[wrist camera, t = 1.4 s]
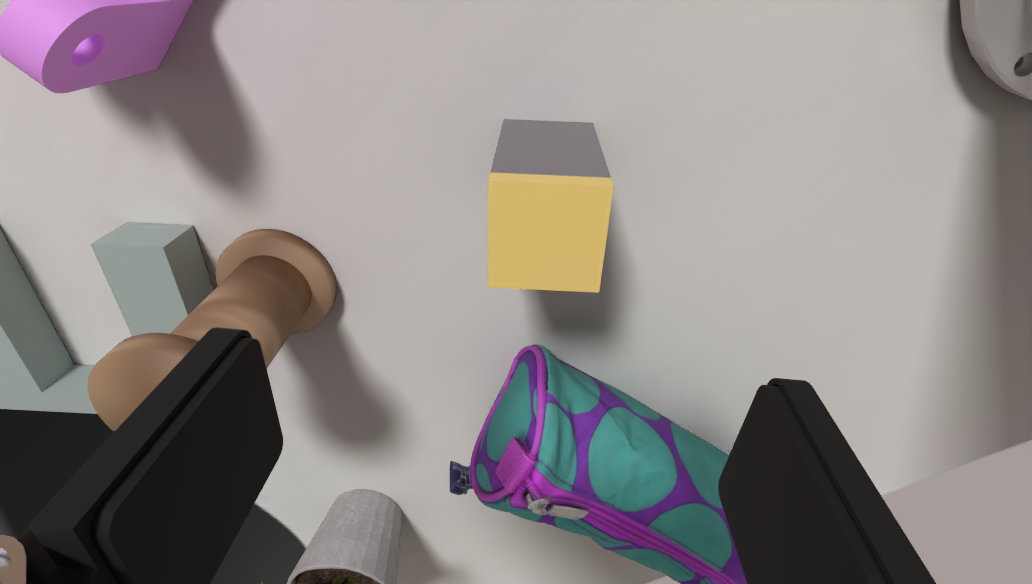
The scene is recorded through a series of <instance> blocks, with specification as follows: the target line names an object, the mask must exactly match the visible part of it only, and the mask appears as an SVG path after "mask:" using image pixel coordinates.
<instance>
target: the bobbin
mask: <svg viewBox="0 0 1032 584" xmlns="http://www.w3.org/2000/svg"><path fill="white" fill-rule="evenodd" d="M216 281H217V285H218V287H217V288H216V289H215V290H214V291H213V292H212V293H211V294H209V295H208V296H207V297H206V298H205V299H204V300H203V301H202V302H201V303H200V304H199V305H198V306H197V307H196V308H195V309H194V310H193V311H192V312H191V313H190V314H189V315H188V316H187V317H186V318H185V319H184V320H183V321H182V322H181V323H180V324H179V325H178V326H177V327H176V328H175V329H174V330H173V331H172V332H171V333H170V334H168V333H146V334H139V335H136V336H132V337H130V338H127V339H125V340H123V341H122V342H120V343H119V344H118V345H117V346H115V347H114V348H113V349H112V350H111V351H110V352H109V353H108V354H106V355H105V356H104V357H103V358H102V359H101V360H100V361H99V362H98V363H97V364H96V365H95V366H94V367H93V368H92V370H91V372H90V374H89V377H88V384H87V387H88V394H89V398H90V401H91V403H92V405H93V407H94V409H95V410H96V412H97V414H98V415H99V416H100V418H101V419H102V420H103V421H104V422H105V423H106V424H107V425H108V426H109V428H110V429H112V430H113V431H114V432H115V431H116V430H117V428H118V427H119V426H120V425H121V424H122V423H123V422H124V421H125V420H126V419H127V418H128V417H129V416H130V414H131V413H132V412H133V411H134V410H135V409H136V408H137V407H138V406H139V405H140V404H141V403H142V402H143V401H144V399H145V398H146V397H147V396H148V395H149V394H150V393H151V392H152V391H153V390H154V389H155V388H156V387H157V385H158V384H159V383H160V382H161V381H162V380H163V379H164V378H165V377H166V376H167V375H168V374H169V373H170V372H171V370H172V369H173V368H174V367H175V366H176V365H177V364H178V363H179V362H180V361H181V360H182V359H183V358H184V356H185V355H186V354H187V353H188V352H189V351H190V350H191V349H192V348H193V347H194V346H195V345H196V344H197V343H198V341H199V340H200V339H201V338H202V337H203V336H204V335H205V334H206V333H207V332H208V331H209V330H210V329H212V328H215V327H218V328H229V329H240V330H247V331H248V332H249V333H250V334H251V336H252V338H253V339H257V340H258V341H259V342H260V345H261V349H262V353H263V357H264V361H265V365H266V369H267V367H268V366H269V364H270V363H271V362H272V360H273V359H274V357H275V356H276V354H277V353H278V351H279V350H280V348H281V347H282V346H283V344H284V343H285V341H286V340H287V338H288V337H289V335H290V334H298V333H302V332H306V331H308V330H311V329H313V328H314V327H316V326H317V325H319V324H320V323H321V322H322V321H323V319H324V318H325V316H326V315H327V313H328V312H329V310H330V308H331V307H332V305H333V303H334V301H335V298H336V292H337V286H336V279H335V275H334V273H333V271H332V268H331V267H330V265H329V263H328V262H327V260H326V259H325V257H324V256H323V255H322V254H321V253H320V252H319V251H318V250H317V249H316V248H315V247H314V246H312V245H311V244H310V243H308V242H307V241H305V240H303V239H302V238H300V237H298V236H296V235H293V234H291V233H288V232H285V231H280V230H274V229H260V230H254V231H250V232H248V233H245V234H243V235H242V236H240V237H239V238H237V239H236V240H235V241H234V242H233V243H232V244H230V245H229V246H228V247H227V248H226V249H225V250H224V251H223V252H222V254H221V255H220V257H219V259H218V261H217V265H216Z"/></svg>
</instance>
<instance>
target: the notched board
mask: <svg viewBox="0 0 1032 584" xmlns="http://www.w3.org/2000/svg"><path fill="white" fill-rule="evenodd" d="M91 246H92V248H93V250H94V253H95V255H96V257H97V259H98V261H99V264H100V266H101V268H102V270H103V273H104V275H105V277H106V279H107V281H108V284H109V286H110V288H111V290H112V293H113V295H114V297H115V299H116V301H117V304H118V306H119V308H120V310H121V313H122V315H123V317H124V319H125V321H126V324H127V326H128V328H129V330H130V333H131V335H132V336H136V335H139V334H146V333H168V334H170V333H171V332H172V331H173V330H174V329H175V328H176V327H177V326H178V325H179V324H180V323H181V322H182V321H183V320H184V319H185V318H186V317H187V316H188V315H189V314H190V313H191V312H192V311H193V310H194V309H195V308H196V307H197V306H198V305H199V304H200V303H201V302H202V301H203V300H204V299H205V298H206V297H207V296H208V295H209V294H211V293H212V292H213V291H214V289H213V286H212V283H211V279H210V276H209V273H208V270H207V267H206V264H205V261H204V258H203V255H202V252H201V249H200V246H199V243H198V240H197V237H196V234H195V230H194V227H193V226H192V225H170V224H148V223H125V224H123V225H121V226H120V227H118V228H116V229H115V230H113V231H111V232H110V233H108V234H107V235H105V236H103V237H102V238H100V239H98V240H97V241H95V242H93V243H92V244H91ZM93 367H94V366H86V365H74V363H73V361H72V359H71V358H70V356H69V354H68V352H67V350H66V348H65V346H64V345H63V343H62V341H61V339H60V337H59V335H58V334H57V332H56V330H55V328H54V326H53V324H52V323H51V321H50V319H49V317H48V315H47V313H46V311H45V310H44V308H43V306H42V304H41V302H40V300H39V299H38V297H37V295H36V293H35V291H34V289H33V288H32V286H31V284H30V282H29V280H28V278H27V277H26V275H25V273H24V271H23V269H22V267H21V265H20V264H19V262H18V260H17V258H16V256H15V254H14V253H13V251H12V249H11V247H10V245H9V243H8V242H7V240H6V238H5V236H4V234H3V232H2V230H1V229H0V409H17V410H35V411H55V412H75V413H92V414H97V412H96V410H95V409H94V407H93V405H92V403H91V401H90V398H89V394H88V387H87V384H88V377H89V374H90V372H91V370H92V368H93Z"/></svg>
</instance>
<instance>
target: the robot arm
mask: <svg viewBox="0 0 1032 584" xmlns="http://www.w3.org/2000/svg"><path fill="white" fill-rule="evenodd" d="M960 10H961V21H962V29H963V32H964V35H965V38H966V41H967V44H968V47H969V50H970V53H971V55H972V56H973V58H974V59H975V61H976V62H977V63H978V65H979V66H980V68H981V69H982V71H983V72H984V73H985V75H986V76H988V77H989V78H990V79H991V80H993V81H994V82H995V83H997V84H998V85H999V86H1000V87H1002V88H1003V89H1004V90H1006V91H1008V92H1011V93H1013V94H1016V95H1018V96H1021V97H1023V98H1026V99H1028V100H1032V0H960ZM282 447H283V436H282V432H281V427H280V423H279V419H278V415H277V411H276V407H275V402H274V398H273V394H272V390H271V386H270V382H269V378H268V373H267V369H266V365H265V361H264V357H263V353H262V349H261V345H260V342H259V341H258V340H257V339H253V338H252V336H251V334H250V333H249V332H248V331H247V330H240V329H229V328H218V327H215V328H212V329H210V330H209V331H208V332H207V333H206V334H205V335H204V336H203V337H202V338H201V339H200V340H199V341H198V343H197V344H196V345H195V346H194V347H193V348H192V349H191V350H190V351H189V352H188V353H187V354H186V355H185V356H184V358H183V359H182V360H181V361H180V362H179V363H178V364H177V365H176V366H175V367H174V368H173V369H172V370H171V372H170V373H169V374H168V375H167V376H166V377H165V378H164V379H163V380H162V381H161V382H160V383H159V384H158V385H157V387H156V388H155V389H154V390H153V391H152V392H151V393H150V394H149V395H148V396H147V397H146V398H145V399H144V401H143V402H142V403H141V404H140V405H139V406H138V407H137V408H136V409H135V410H134V411H133V412H132V413H131V414H130V416H129V417H128V418H127V419H126V420H125V421H124V422H123V423H122V424H121V425H120V426H119V427H118V428H117V430H116V431H115V432H114V433H113V434H112V435H111V436H110V437H109V438H108V439H107V440H106V441H105V442H104V443H103V445H102V446H101V447H100V448H99V449H98V450H97V451H96V452H95V453H94V454H93V455H92V457H90V459H89V460H88V461H87V462H86V463H85V464H84V465H83V466H82V467H81V468H80V469H79V470H78V471H77V473H76V474H75V475H74V476H73V477H72V478H71V479H70V480H69V481H68V482H67V483H66V484H65V485H64V486H63V488H62V489H61V490H60V491H59V492H58V493H57V494H56V495H55V496H54V497H53V498H52V499H51V500H50V502H49V503H48V504H47V505H46V506H45V507H44V508H43V509H42V510H41V511H40V512H39V513H38V514H37V515H36V517H35V518H34V519H33V520H32V521H31V522H30V523H29V524H28V526H29V527H28V528H27V529H26V531H25V532H24V533H23V534H22V535H21V536H20V537H19V538H18V539H17V540H16V539H15V538H13V537H8V536H2V535H0V584H210V583H211V581H212V579H213V577H214V576H215V574H216V572H217V570H218V568H219V566H220V565H221V563H222V561H223V559H224V557H225V555H226V554H227V552H228V550H229V548H230V546H231V544H232V543H233V541H234V539H235V537H236V535H237V533H238V532H239V530H240V528H241V526H242V524H243V522H244V521H245V519H246V517H247V515H248V513H249V512H250V509H251V508H252V506H253V504H254V502H255V501H256V499H257V497H258V495H259V493H260V491H261V490H262V488H263V486H264V484H265V482H266V481H267V479H268V477H269V475H270V473H271V471H272V470H273V468H274V466H275V464H276V462H277V460H278V459H279V456H280V454H281V451H282ZM718 491H719V497H720V501H721V504H722V507H723V510H724V513H725V516H726V519H727V522H728V525H729V528H730V532H731V535H732V538H733V541H734V544H735V547H736V550H737V553H738V556H739V559H740V563H741V566H742V569H743V572H744V575H745V578H746V581H747V584H936V583H935V581H934V579H933V578H932V577H931V575H930V573H929V572H928V570H927V568H926V567H925V565H924V564H923V562H922V561H921V559H920V557H919V556H918V554H917V553H916V551H915V549H914V548H913V546H912V544H911V543H910V542H909V540H908V538H907V537H906V535H905V533H904V532H903V530H902V529H901V527H900V526H899V524H898V522H897V521H896V520H895V518H894V516H893V514H892V513H891V511H890V509H889V508H888V506H887V505H886V503H885V501H884V500H883V498H882V497H881V495H880V494H879V492H878V490H877V489H876V487H875V486H874V484H873V482H872V481H871V479H870V478H869V476H868V474H867V473H866V471H865V470H864V468H863V466H862V465H861V463H860V462H859V460H858V458H857V457H856V455H855V454H854V452H853V451H852V449H851V447H850V446H849V444H848V443H847V441H846V439H845V438H844V436H843V435H842V433H841V431H840V430H839V428H838V427H837V425H836V423H835V422H834V420H833V419H832V417H831V416H830V414H829V412H828V411H827V409H826V408H825V406H824V404H823V403H822V401H821V400H820V398H819V396H818V395H817V393H816V392H815V390H814V388H813V387H812V386H811V385H810V383H808V382H806V381H802V380H791V379H780V378H774V379H771V380H770V381H769V383H768V384H767V385H761V386H760V387H759V389H758V390H757V393H756V395H755V397H754V400H753V402H752V404H751V406H750V409H749V411H748V413H747V416H746V418H745V420H744V423H743V425H742V427H741V429H740V432H739V434H738V436H737V439H736V441H735V443H734V446H733V448H732V450H731V452H730V455H729V457H728V459H727V462H726V464H725V466H724V469H723V471H722V473H721V475H720V478H719V483H718Z"/></svg>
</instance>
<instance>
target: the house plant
mask: <svg viewBox="0 0 1032 584" xmlns="http://www.w3.org/2000/svg"><path fill="white" fill-rule="evenodd" d="M401 521H402V512H401V509H400V507H399V506H398V505H397V503H396V502H395V501H393V500H392V499H391V498H389V497H387V496H385V495H383V494H381V493H378V492H374V491H369V490H353V491H349V492H345V493H344V494H342V495H340V496H339V497H338V498H337V499H336V500H335V502H334V504H333V505H332V507H331V509H330V510H329V512H328V514H327V515H326V517H325V519H324V520H323V522H322V524H321V525H320V527H319V529H318V530H317V532H316V534H315V535H314V537H313V539H312V540H311V542H310V544H309V545H308V547H307V549H306V550H305V552H304V554H303V555H302V557H301V559H300V561H299V562H298V564H297V566H296V567H295V569H294V571H293V572H292V574H291V576H290V577H289V579H288V583H287V584H397V571H398V557H399V545H400V533H401Z"/></svg>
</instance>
